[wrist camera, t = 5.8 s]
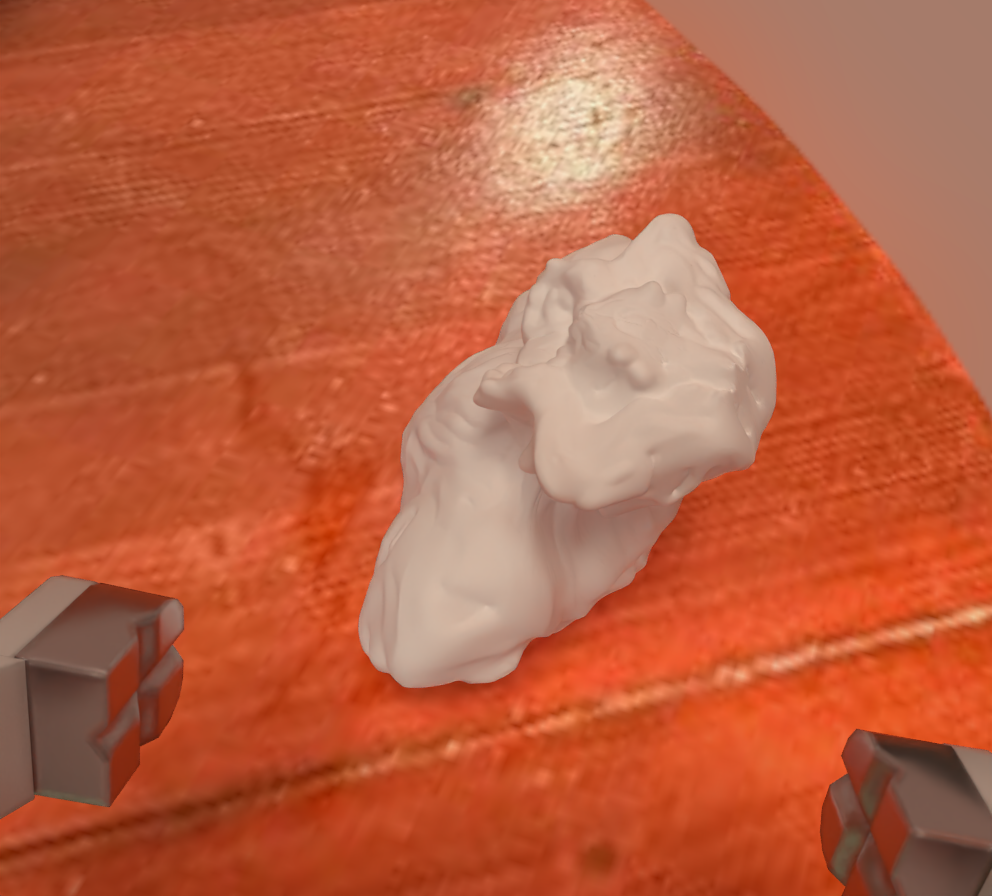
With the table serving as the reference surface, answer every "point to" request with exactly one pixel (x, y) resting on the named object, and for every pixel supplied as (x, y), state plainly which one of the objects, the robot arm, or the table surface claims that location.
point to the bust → (563, 454)
